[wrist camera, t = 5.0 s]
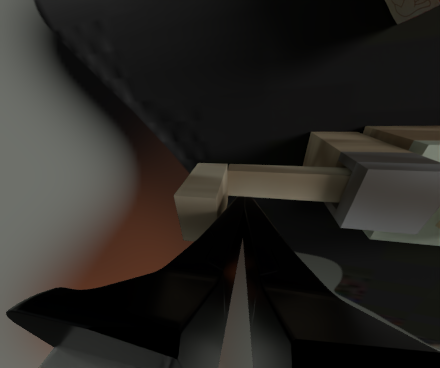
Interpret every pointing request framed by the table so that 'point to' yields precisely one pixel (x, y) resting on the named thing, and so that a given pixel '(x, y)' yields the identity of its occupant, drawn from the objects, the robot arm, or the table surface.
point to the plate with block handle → (436, 226)
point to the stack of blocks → (409, 8)
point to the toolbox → (380, 177)
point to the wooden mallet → (250, 189)
